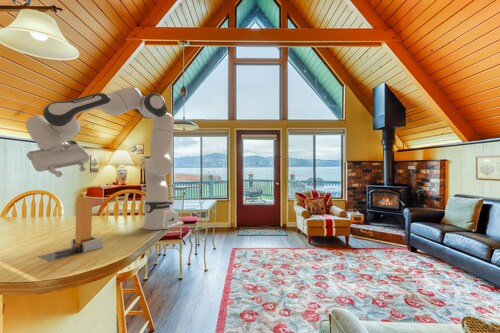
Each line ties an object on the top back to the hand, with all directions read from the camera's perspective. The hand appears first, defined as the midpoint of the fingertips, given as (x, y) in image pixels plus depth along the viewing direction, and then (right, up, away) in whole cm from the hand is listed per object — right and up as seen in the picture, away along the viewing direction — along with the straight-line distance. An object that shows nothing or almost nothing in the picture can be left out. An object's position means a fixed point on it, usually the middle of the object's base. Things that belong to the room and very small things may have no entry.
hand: (72, 173), depth 101 cm
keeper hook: (+13, -28, -11) cm, 33 cm away
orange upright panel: (+11, -28, -14) cm, 33 cm away
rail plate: (+11, -29, -15) cm, 34 cm away
